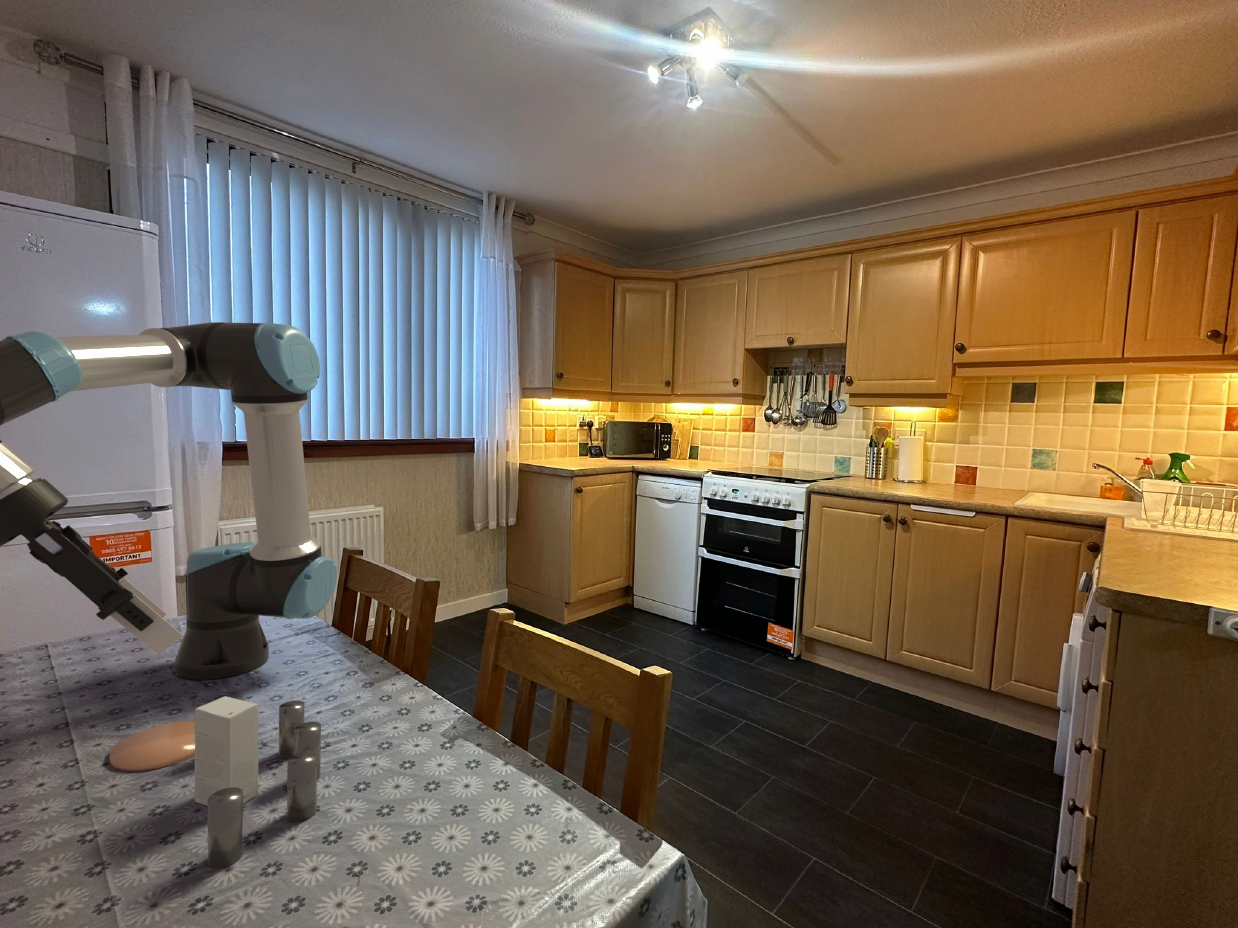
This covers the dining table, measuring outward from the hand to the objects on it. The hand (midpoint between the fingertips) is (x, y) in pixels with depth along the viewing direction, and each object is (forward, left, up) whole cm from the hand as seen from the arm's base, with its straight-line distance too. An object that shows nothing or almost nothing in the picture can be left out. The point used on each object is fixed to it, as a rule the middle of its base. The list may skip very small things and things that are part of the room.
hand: (163, 632), depth 70 cm
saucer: (-9, -15, -22) cm, 29 cm away
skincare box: (-5, +4, -23) cm, 23 cm away
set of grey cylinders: (-7, +4, -22) cm, 24 cm away
